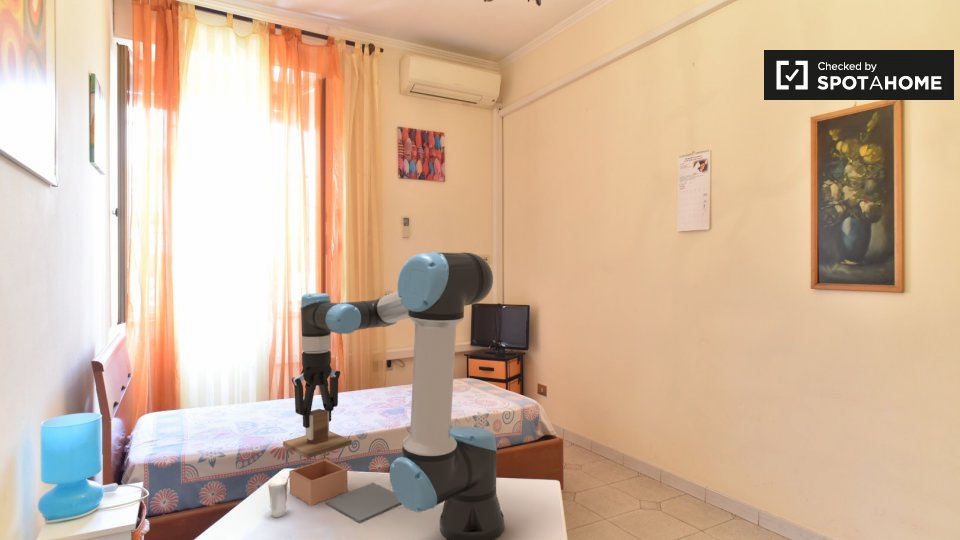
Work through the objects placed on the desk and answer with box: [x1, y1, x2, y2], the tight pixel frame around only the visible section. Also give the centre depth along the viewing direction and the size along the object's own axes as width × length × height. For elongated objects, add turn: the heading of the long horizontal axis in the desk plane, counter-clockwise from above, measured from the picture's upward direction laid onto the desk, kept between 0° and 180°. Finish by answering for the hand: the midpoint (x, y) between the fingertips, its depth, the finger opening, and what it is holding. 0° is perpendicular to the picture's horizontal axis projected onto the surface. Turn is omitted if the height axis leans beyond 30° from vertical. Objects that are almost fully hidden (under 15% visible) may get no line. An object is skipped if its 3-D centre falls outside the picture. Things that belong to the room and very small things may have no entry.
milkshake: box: [267, 474, 290, 518], centre depth 130 cm, size 4×5×10 cm
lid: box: [282, 408, 353, 459], centre depth 142 cm, size 13×13×9 cm
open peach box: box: [288, 458, 349, 506], centre depth 142 cm, size 11×11×6 cm
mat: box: [324, 482, 402, 524], centre depth 136 cm, size 15×15×1 cm
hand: (317, 436), depth 142 cm, fingers closed on lid, 4 cm apart
